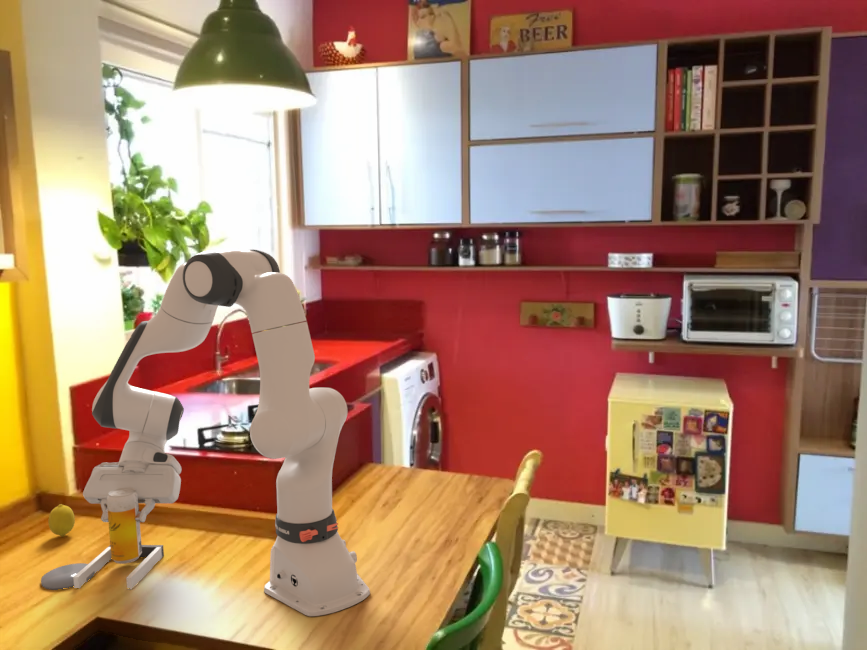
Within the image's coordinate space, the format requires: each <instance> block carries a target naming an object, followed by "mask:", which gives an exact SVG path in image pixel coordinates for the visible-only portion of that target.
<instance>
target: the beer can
mask: <svg viewBox="0 0 867 650" xmlns="http://www.w3.org/2000/svg"><path fill="white" fill-rule="evenodd" d="M107 510H108V522H107V523H108V532H109V534H108V535H109V546H110V547H111V558H112V559H111V560H112V561H114V563H116V564H120V565H121V564H123V565H125V564H129V563H133V562H135V561H137V560H139V559H140V558H139V557H140V555H141V554H142V545H143V544H142V536H141V535H142V533H141V522H137V521H136V520H135V517H136V516H137V515H136V514H137V512H140V507H139V503H138V494H137V492H136V491H135V489H134V488H130V487H125V488H119V489H115V490H112V491H110V492H109V493H108V497H107Z"/></svg>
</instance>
